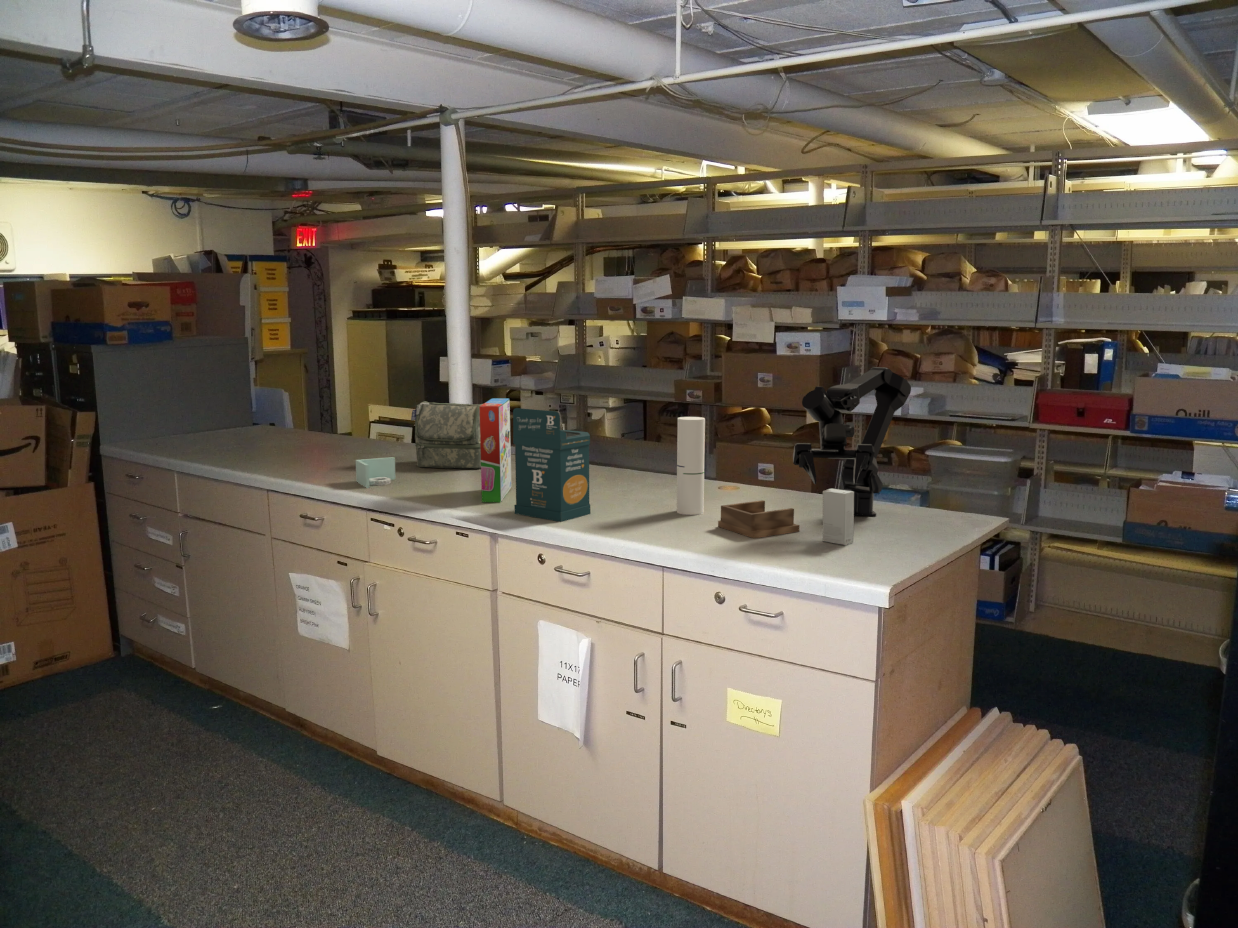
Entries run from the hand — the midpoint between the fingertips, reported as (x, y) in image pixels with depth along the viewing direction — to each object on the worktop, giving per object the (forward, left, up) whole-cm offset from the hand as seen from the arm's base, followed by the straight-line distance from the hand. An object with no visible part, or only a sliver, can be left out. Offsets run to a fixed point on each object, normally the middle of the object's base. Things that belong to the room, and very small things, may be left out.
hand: (835, 483), depth 222 cm
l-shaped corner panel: (-62, -127, -13) cm, 142 cm away
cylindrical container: (-25, -33, -13) cm, 43 cm away
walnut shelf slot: (-6, -17, -13) cm, 22 cm away
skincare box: (+6, 0, -13) cm, 14 cm away
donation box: (-23, -68, -13) cm, 73 cm away
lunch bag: (-97, -112, -13) cm, 149 cm away
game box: (-45, -88, -13) cm, 100 cm away
